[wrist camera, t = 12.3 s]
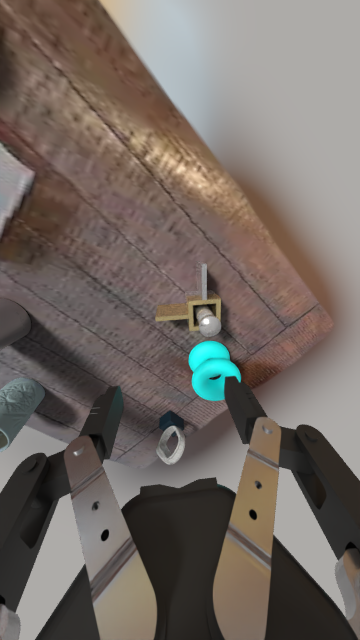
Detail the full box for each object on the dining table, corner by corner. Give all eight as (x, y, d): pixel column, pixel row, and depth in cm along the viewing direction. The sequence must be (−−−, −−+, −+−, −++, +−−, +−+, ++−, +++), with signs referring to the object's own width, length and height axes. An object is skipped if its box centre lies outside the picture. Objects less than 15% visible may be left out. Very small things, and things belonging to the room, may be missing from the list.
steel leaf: (186, 317, 38) (189, 330, 32) (183, 262, 34) (186, 265, 27) (211, 315, 39) (220, 328, 32) (212, 260, 34) (222, 262, 28)
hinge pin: (191, 312, 38) (199, 337, 27) (190, 297, 37) (199, 317, 26) (206, 310, 38) (220, 335, 27) (206, 295, 37) (221, 315, 26)
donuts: (200, 360, 31) (250, 368, 32) (193, 335, 40) (233, 342, 42) (187, 400, 35) (233, 406, 36) (184, 369, 44) (220, 374, 45)
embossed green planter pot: (36, 372, 42) (-12, 416, 31) (55, 401, 46) (19, 450, 35) (-3, 379, 42) (-64, 425, 31) (20, 408, 46) (-28, 458, 35)
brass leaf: (159, 319, 38) (157, 333, 32) (156, 294, 36) (153, 303, 30) (211, 315, 39) (220, 328, 32) (212, 289, 36) (221, 298, 30)
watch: (155, 421, 51) (151, 464, 41) (174, 407, 49) (175, 448, 39) (168, 430, 53) (168, 473, 42) (187, 416, 51) (192, 458, 40)
